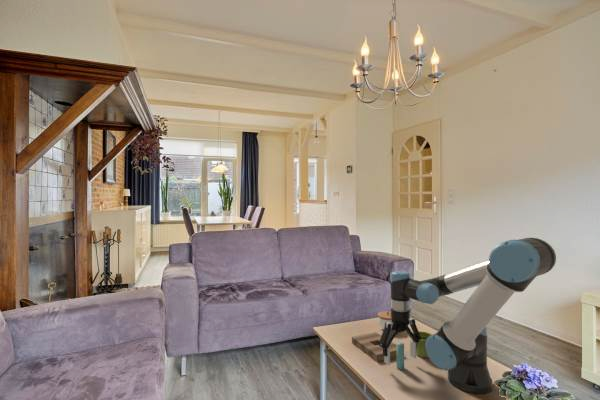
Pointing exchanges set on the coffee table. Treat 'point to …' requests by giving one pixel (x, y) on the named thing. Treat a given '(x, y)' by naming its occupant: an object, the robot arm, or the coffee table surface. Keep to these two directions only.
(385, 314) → the lidded jar
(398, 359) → the peg
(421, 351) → the plant pot
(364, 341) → the hole block
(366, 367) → the coffee table surface
